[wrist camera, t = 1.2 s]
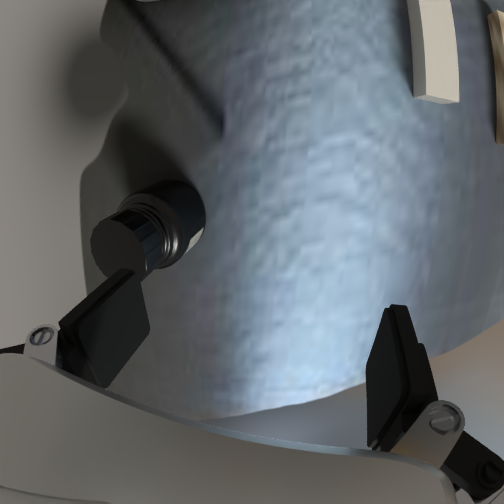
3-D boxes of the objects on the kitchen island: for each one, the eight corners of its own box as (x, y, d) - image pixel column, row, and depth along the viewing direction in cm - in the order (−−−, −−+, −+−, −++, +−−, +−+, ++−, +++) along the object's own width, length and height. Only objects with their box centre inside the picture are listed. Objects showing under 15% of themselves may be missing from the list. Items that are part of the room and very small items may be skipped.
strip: (405, -1, 19) (415, -16, 15) (435, 6, 18) (448, -7, 14) (412, 97, 24) (426, 94, 20) (442, 103, 23) (459, 102, 19)
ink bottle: (150, 247, 39) (96, 293, 28) (135, 184, 35) (70, 214, 25) (216, 245, 36) (172, 298, 26) (203, 173, 33) (146, 202, 22)
